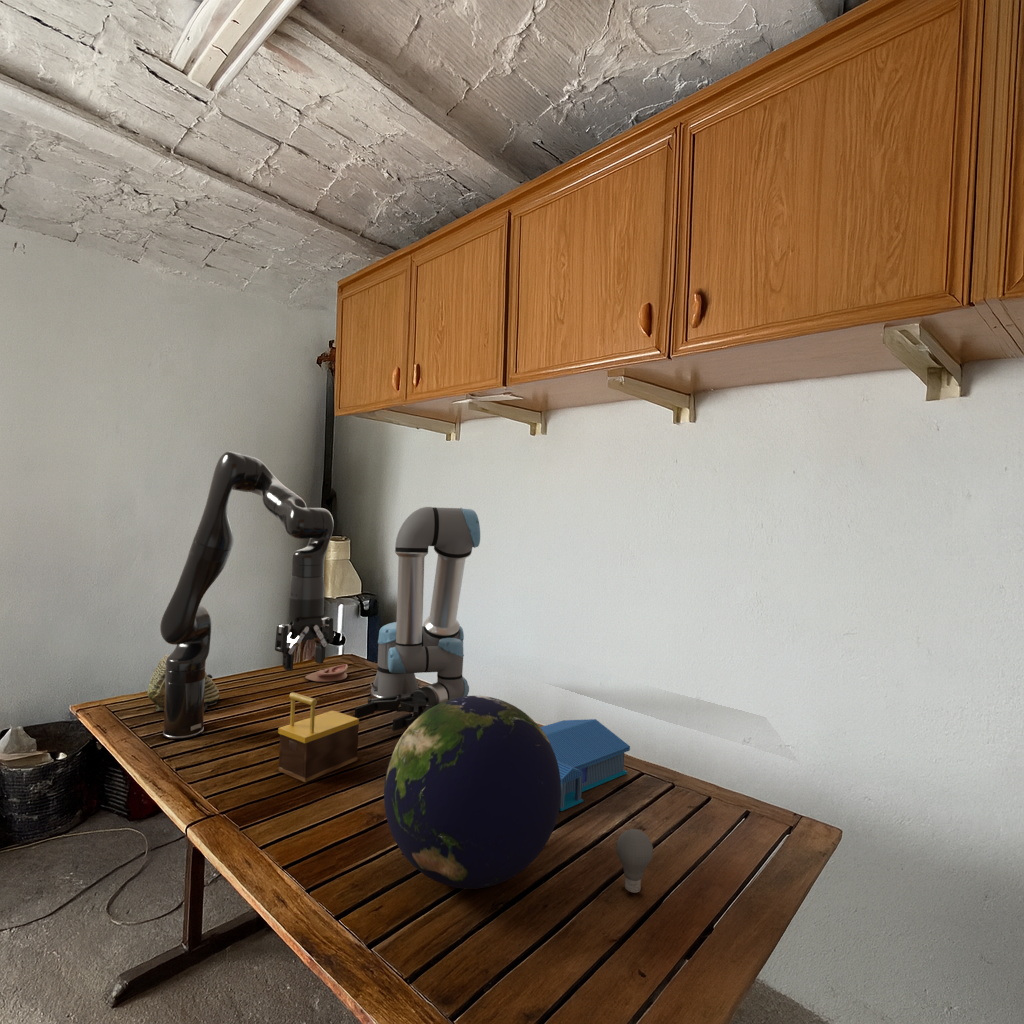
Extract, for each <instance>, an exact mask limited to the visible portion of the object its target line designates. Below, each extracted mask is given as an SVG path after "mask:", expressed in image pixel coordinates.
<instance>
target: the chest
mask: <svg viewBox="0 0 1024 1024" xmlns="http://www.w3.org/2000/svg"><path fill="white" fill-rule="evenodd" d="M359 726H360V723H359V724H357V725H354V726H352V727H349V728H346V729H343V730H341V731H338V732H335V733H332V734H330V735H327V736H324V737H321V738H319V739H316V740H313V741H310V742H308V743H303V742H300V741H297V740H295V739H292V738H289V737H287V736H284V735H281V734H279V752H278V772H280V773H282V774H284V775H287V776H290V777H292V778H294V779H296V780H298V781H301V782H303V783H307V782H310V781H312V780H314V779H317V778H319V777H322V776H324V775H326V774H329V773H331V772H333V771H336V770H338V769H340V768H342V767H345V766H347V765H350V764H352V763H354V762H357V761H358V760H359V757H358V756H359V755H358V754H359V750H358V749H359V729H360V727H359Z"/></svg>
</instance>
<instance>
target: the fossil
mask: <svg viewBox="0 0 1024 1024" xmlns="http://www.w3.org/2000/svg"><path fill="white" fill-rule="evenodd" d="M169 655H170V654H165V655H164V656H163V657H162V658H161V659H160V660H159V662H158V663H157V666H156V667H155V669H154V670H153V672H152V675H151V677H150V680H149V684H148V688H147V697H148V699H149V700H150V701H152V703H153V704H154V706H155V711H158V712H159V711H162V712H163V711H164V705H165V674H166V659H167V658H168V656H169ZM207 675H208V674H207V672H206V671H205V693H204V704H206V703H207V705H208V706H213V705H215V704H217V703H218V701H219V699H220V698H221V696H220V690H219V688H218V686H217V685H216V683H215V682H214V681H213V678H209V677H208V676H207Z"/></svg>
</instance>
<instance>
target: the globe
mask: <svg viewBox="0 0 1024 1024" xmlns="http://www.w3.org/2000/svg"><path fill="white" fill-rule="evenodd" d="M418 716H419V715H418ZM540 727H541V726H540V725H538V723H537V722H536V721H535V720H534V719H533V718H532V717H531V716H529V715H528V714H527V713H526V712H524V711H523V710H521V709H520V708H519V707H517V706H516V705H513V704H512V703H510V702H508V701H505V700H503V699H499V698H496V697H491V696H488V695H479V694H478V695H467V696H463V697H458V698H453V699H450V700H447V701H444V702H442V703H440V704H438V705H436V706H434V707H432V708H430V709H429V710H427V711H426V712H425V713H423V714H422V715H421V716H419V717H418V718H417V719H416V720H415V721H414V722H413V723H412V724H411V725H408V726H407V729H405V731H404V732H403V734H401V736H400V738H399V740H398V741H397V743H396V744H395V747H394V749H393V751H392V754H391V755H390V758H389V762H388V766H387V769H386V773H385V777H384V778H385V779H384V787H383V804H384V811H385V817H386V821H387V825H388V828H389V830H390V833H391V836H392V838H393V840H394V842H395V844H396V845H397V847H398V849H399V850H400V852H401V854H402V855H403V856H404V857H405V858H406V860H407V861H408V863H410V864H411V865H412V866H413V867H414V868H415V869H416V870H418V872H420V873H422V874H423V875H424V876H426V877H427V878H429V879H431V880H433V881H434V882H437V883H439V884H442V885H444V886H447V887H450V888H451V887H452V888H456V889H462V890H463V889H464V890H476V889H485V888H489V887H494V886H497V885H500V884H503V883H504V882H506V881H508V880H511V879H512V878H514V877H515V876H517V875H518V874H520V873H522V872H523V871H524V870H526V868H528V867H529V866H530V865H531V864H532V863H533V862H534V861H535V860H536V859H537V858H538V856H539V855H540V854H541V852H542V851H543V850H544V849H545V847H546V845H547V843H548V841H549V840H550V839H551V836H552V835H553V834H552V833H553V832H554V829H555V826H556V825H557V821H558V816H559V812H560V811H559V808H560V801H561V779H560V771H559V767H558V763H557V760H556V756H555V753H554V751H553V749H552V746H551V744H550V742H549V740H548V738H547V737H546V735H545V733H544V732H543V730H542V729H541V728H540Z"/></svg>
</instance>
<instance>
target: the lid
mask: <svg viewBox="0 0 1024 1024" xmlns="http://www.w3.org/2000/svg"><path fill="white" fill-rule="evenodd" d="M288 698H289V699H290V713H289V716H290V718H289V724H287V725H283V726H279V727H278V731H277V733H278V734H279V735H280V734H281V735H284V736H287V737H289V738H292V739H295V740H297V741H300V742H303V743H308V742H310V741H313V740H316V739H319V738H321V737H324V736H327V735H330V734H332V733H335V732H338V731H341V730H343V729H346V728H349V727H352V726H354V725H357V724H359V725H360V718H355V716H352V715H349V714H346V713H343V712H340V711H336V710H328V711H326V712H324V713H321V714H315V713H316V705H317V703H318V700H317V699H316V698H313V697H310V696H306V695H303V694H300V693H296V692H294V691H292V692H290V693H289V696H288ZM296 702H300V703H303V704H305V705H309V706H310V712H309V713H310V715H309V717H308V718H304V719H301V720H298V721H295V715H296V713H295V712H296Z"/></svg>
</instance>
